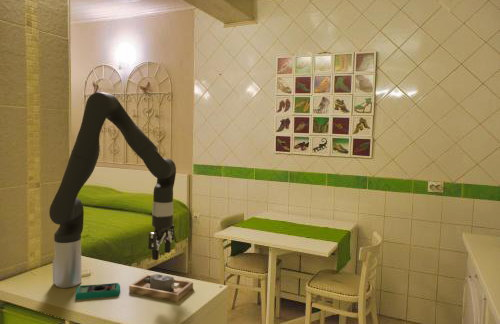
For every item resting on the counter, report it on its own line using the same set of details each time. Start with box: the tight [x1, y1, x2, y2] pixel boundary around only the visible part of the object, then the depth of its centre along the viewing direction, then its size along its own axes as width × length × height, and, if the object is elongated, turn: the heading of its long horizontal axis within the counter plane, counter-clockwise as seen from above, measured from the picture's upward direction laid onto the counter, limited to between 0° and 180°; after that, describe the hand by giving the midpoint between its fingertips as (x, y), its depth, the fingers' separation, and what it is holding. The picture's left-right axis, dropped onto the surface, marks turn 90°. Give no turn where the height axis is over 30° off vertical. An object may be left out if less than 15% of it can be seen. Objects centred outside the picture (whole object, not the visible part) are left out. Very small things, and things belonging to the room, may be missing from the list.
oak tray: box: [128, 273, 194, 303], centre depth 147 cm, size 20×12×3 cm, turn 71°
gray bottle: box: [144, 273, 179, 292], centre depth 147 cm, size 14×4×4 cm, turn 71°
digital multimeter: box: [75, 282, 121, 301], centre depth 143 cm, size 7×15×3 cm, turn 106°
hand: (161, 255), depth 146 cm, fingers open, 8 cm apart
